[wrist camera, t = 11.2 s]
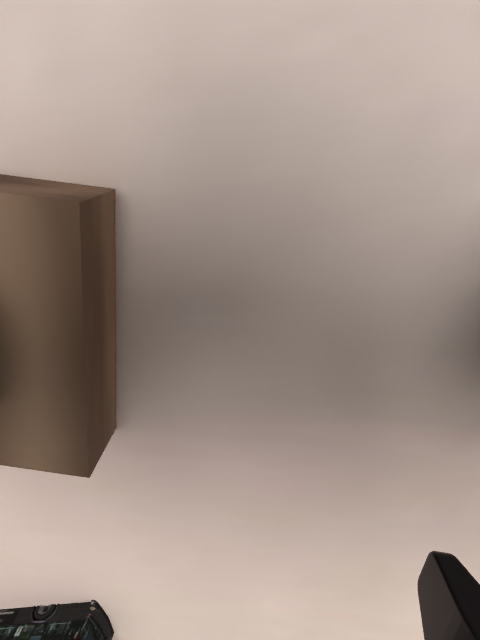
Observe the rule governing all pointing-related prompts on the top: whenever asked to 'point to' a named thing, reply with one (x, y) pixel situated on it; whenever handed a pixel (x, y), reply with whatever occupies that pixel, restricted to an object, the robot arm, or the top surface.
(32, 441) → the walnut block
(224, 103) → the top surface
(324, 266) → the top surface
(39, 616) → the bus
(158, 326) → the top surface
